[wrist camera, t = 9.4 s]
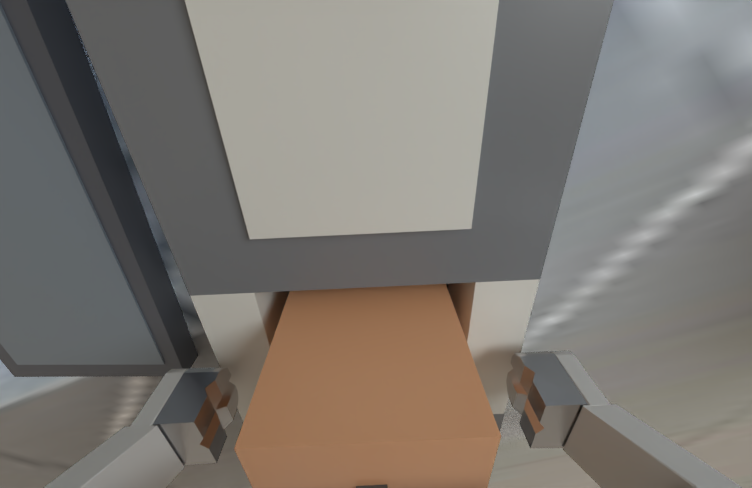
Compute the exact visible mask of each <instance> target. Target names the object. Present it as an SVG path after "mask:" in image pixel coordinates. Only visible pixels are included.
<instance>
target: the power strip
mask: <svg viewBox="0 0 752 488" xmlns="http://www.w3.org/2000/svg"><path fill="white" fill-rule="evenodd" d="M613 1H614V0H66V3H67V5H68V8H69V10H70V12H71V15H72V17H73V19H74V22H75V24H76V27H77V29H78V31H79V34H80V36H81V38H82V41H83V43H84V46H85V48H86V50H87V53H88V55H89V57H90V60H91V62H92V65H93V67H94V69H95V72H96V74H97V76H98V79H99V81H100V84H101V86H102V88H103V91H104V93H105V95H106V98H107V100H108V103H109V105H110V107H111V110H112V112H113V114H114V117H115V119H116V122H117V124H118V126H119V129H120V131H121V133H122V136H123V138H124V141H125V143H126V145H127V148H128V150H129V152H130V155H131V157H132V160H133V162H134V164H135V167H136V169H137V171H138V174H139V176H140V178H141V181H142V183H143V186H144V188H145V190H146V193H147V195H148V197H149V200H150V202H151V205H152V207H153V209H154V212H155V214H156V216H157V219H158V221H159V224H160V226H161V228H162V231H163V233H164V235H165V238H166V240H167V243H168V245H169V247H170V250H171V252H172V254H173V257H174V259H175V262H176V264H177V266H178V269H179V271H180V273H181V276H182V278H183V281H184V283H185V285H186V288H187V290H188V292H189V295H190V297H191V300H192V302H193V304H194V307H195V309H196V311H197V314H198V316H199V319H200V321H201V323H202V326H203V328H204V330H205V333H206V335H207V338H208V340H209V342H210V345H211V347H212V349H213V352H214V354H215V357H216V359H217V361H218V364H219V366H220V368H228V369H229V371H230V373H231V377H230V380H229V382H231V383H232V384H234V385H235V386H236V388H237V391H238V406H237V409H238V411H239V413H240V416H241V418H242V421H243V422H244V419H245V416H246V414H247V411H248V408H249V405H250V402H251V399H252V397H253V394H254V391H255V388H256V385H257V382H258V380H259V377H260V374H261V371H262V368H263V365H264V363H265V360H266V357H267V354H268V351H269V348H270V345H271V343H272V340H273V337H274V334H275V331H276V328H277V326H278V323H279V320H280V317H281V314H282V311H283V309H284V306H285V303H286V300H287V297H288V294H289V292H290V291H302V290H323V289H344V288H366V287H387V286H408V285H429V284H446V286H447V289H448V291H449V294H450V297H451V300H452V302H453V305H454V308H455V311H456V313H457V316H458V319H459V322H460V324H461V327H462V330H463V333H464V335H465V338H466V341H467V344H468V346H469V349H470V352H471V355H472V357H473V360H474V363H475V366H476V368H477V371H478V374H479V377H480V379H481V382H482V385H483V388H484V390H485V393H486V396H487V399H488V401H489V404H490V407H491V410H492V412H493V415H494V418H495V421H496V423H497V426H498V429H499V432H500V428H501V425H502V421H503V417H504V413H505V410H506V406H507V402H508V398H509V396H508V392H507V384H506V379H507V374H508V372H509V371H511V370H512V369H513V367H512V365H511V363H510V362H511V358H512V356H513V355H514V354H515V353H521V349H522V345H523V342H524V338H525V334H526V330H527V326H528V323H529V319H530V315H531V311H532V308H533V304H534V300H535V296H536V292H537V289H538V285H539V281H540V277H541V274H542V270H543V266H544V262H545V258H546V255H547V251H548V247H549V243H550V240H551V236H552V232H553V228H554V224H555V221H556V217H557V213H558V209H559V206H560V202H561V198H562V194H563V190H564V187H565V183H566V179H567V175H568V172H569V168H570V164H571V160H572V156H573V153H574V149H575V145H576V141H577V137H578V134H579V130H580V126H581V122H582V119H583V115H584V111H585V107H586V103H587V100H588V96H589V92H590V88H591V85H592V81H593V77H594V73H595V69H596V66H597V62H598V58H599V54H600V51H601V47H602V43H603V39H604V35H605V32H606V28H607V24H608V20H609V17H610V13H611V9H612V5H613Z"/></svg>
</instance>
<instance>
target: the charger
mask: <svg viewBox="0 0 752 488" xmlns="http://www.w3.org/2000/svg"><path fill="white" fill-rule="evenodd" d="M500 439H501V435H500V432H499V429H498V426H497V423H496V421H495V418H494V415H493V412H492V410H491V407H490V404H489V401H488V399H487V396H486V393H485V390H484V388H483V385H482V382H481V379H480V377H479V374H478V371H477V368H476V366H475V363H474V360H473V357H472V355H471V352H470V349H469V346H468V344H467V341H466V338H465V335H464V333H463V330H462V327H461V324H460V322H459V319H458V316H457V313H456V311H455V308H454V305H453V302H452V300H451V297H450V294H449V291H448V289H447V286H446V284H429V285H408V286H387V287H366V288H344V289H323V290H302V291H290V292H289V294H288V297H287V300H286V303H285V306H284V309H283V311H282V314H281V317H280V320H279V323H278V326H277V328H276V331H275V334H274V337H273V340H272V343H271V345H270V348H269V351H268V354H267V357H266V360H265V363H264V365H263V368H262V371H261V374H260V377H259V380H258V382H257V385H256V388H255V391H254V394H253V397H252V399H251V402H250V405H249V408H248V411H247V414H246V416H245V419H244V422H243V425H242V428H241V431H240V433H239V436H238V439H237V442H236V445H235V448H234V450H235V452H236V454H237V456H238V458H239V460H240V462H241V464H242V466H243V469H244V471H245V473H246V475H247V477H248V479H249V481H250V483H251V485H252V487H253V488H487V487H488V483H489V479H490V476H491V472H492V468H493V465H494V461H495V457H496V454H497V450H498V446H499V443H500Z"/></svg>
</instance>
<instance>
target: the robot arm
mask: <svg viewBox="0 0 752 488" xmlns="http://www.w3.org/2000/svg"><path fill="white" fill-rule="evenodd" d="M510 363H511V365H512V367H513V369H512V370H511V371H509V372H508V374H507V379H506V384H507V392H508V396H509V399H510V402H511V404H512V407H513V408H514V409H515V410H517V411H518V412H519V413H520V414H521V415H522V416H521V420H520V425H521V428H522V430H523V432H524V434H525V437H526V439H527V441H528V444H529V446H530V448H563V450H564V451H565V452H566V453H567V454H568V455H569V456H570V457H571V458H572V459H573V460H574V461H575V462H576V463H577V464H578V465H579V466H580V467H581V468H582V469H583V470H584V471H585V472H586V473H587V474H588V475H589V476H590V477H591V478H592V479H593V480H594V481H595V482H596V483H597V484H598V485H599V486H600V487H601V488H742V487H741V486H740V485H738V484H737V483H735V482H734V481H732V480H731V479H729V478H728V477H726V476H724V475H723V474H721V473H720V472H718V471H717V470H715V469H714V468H712V467H711V466H709V465H708V464H706V463H705V462H703V461H702V460H700V459H699V458H697V457H696V456H694V455H693V454H691V453H690V452H688V451H687V450H685V449H684V448H682V447H680V446H679V445H677V444H676V443H674V442H673V441H671V440H670V439H668V438H667V437H665V436H664V435H662V434H661V433H659V432H658V431H656V430H655V429H653V428H652V427H650V426H649V425H647V424H646V423H644V422H643V421H641V420H640V419H638V418H636V417H635V416H633V415H632V414H630V413H629V412H627V411H626V410H624V409H623V408H621V407H620V406H618V405H617V404H610V403H609V402H608V400H607V399H606V398H605V396H604V395H603V394H602V392H601V391H600V389H599V388H598V387H597V385H596V384H595V383H594V381H593V380H592V379H591V377H590V376H589V374H588V373H587V372H586V370H585V369H584V368H583V366H582V365H581V364H580V362H579V361H578V359H577V358H576V357H575V355H574V354H573V353H572V352H570V351H552V352H548V351H545V352H528V353H515V354H514V355H513V356H512V358H511V362H510ZM230 377H231V373H230V371H229V369H228V368H183V369H171V370H170V371H168V372H167V373H166V374H165V375H164V377H163V378H162V380H161V381H160V383H159V384H158V386H157V387H156V389H155V390H154V392H153V393H152V395H151V396H150V397H149V399H148V400H147V402H146V403H145V405H144V406H143V408H142V409H141V411H140V412H139V414H138V415H137V417H136V418H135V420H134V421H133V423H132V424H131V426H129V427H123V428H122V429H121V430H120V431H118V432H117V433H116V434H114V435H113V436H112V437H110V438H109V439H108V440H106V441H105V442H104V443H102V444H101V445H100V446H98V447H97V448H96V449H94V450H93V451H92V452H90V453H89V454H88V455H86V456H85V457H84V458H82V459H81V460H80V461H78V462H77V463H76V464H74V465H73V466H72V467H70V468H69V469H68V470H66V471H65V472H64V473H62V474H61V475H60V476H58V477H57V478H56V479H54V480H53V481H52V482H50V483H49V484H48V485H46V486H45V487H44V488H166V487H167V486H168V485H169V484H170V483H171V482H172V481H173V480H174V478H175V477H176V476H177V475H178V474H179V473H180V472H181V471H182V470H183V468H184V465H196V464H209V463H217V461H218V458H219V456H220V453H221V450H222V448H223V445H224V443H225V440H226V438H227V436H226V433H225V428H226V427H227V426H228V425H229V424H230V423H231V422H232V421H233V419H234V416H235V414H236V411H237V406H238V391H237V388H236V386H235V385H234V384H232V383H231V382H229V380H230Z"/></svg>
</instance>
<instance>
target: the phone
mask: <svg viewBox="0 0 752 488" xmlns="http://www.w3.org/2000/svg"><path fill="white" fill-rule="evenodd" d="M197 356H198V354H197V351H196V349H195V346H194V343H193V341H192V338H191V335H190V333H189V330H188V327H187V325H186V322H185V319H184V317H183V314H182V311H181V309H180V306H179V303H178V301H177V298H176V295H175V293H174V290H173V287H172V285H171V282H170V279H169V277H168V274H167V271H166V269H165V266H164V263H163V261H162V258H161V255H160V253H159V250H158V247H157V245H156V242H155V239H154V236H153V234H152V231H151V228H150V226H149V223H148V220H147V218H146V215H145V212H144V210H143V207H142V204H141V202H140V199H139V196H138V194H137V191H136V188H135V186H134V183H133V180H132V178H131V175H130V172H129V170H128V167H127V164H126V162H125V159H124V156H123V154H122V151H121V148H120V146H119V143H118V140H117V138H116V135H115V132H114V130H113V127H112V124H111V122H110V119H109V116H108V114H107V111H106V108H105V106H104V103H103V100H102V98H101V95H100V92H99V90H98V87H97V84H96V82H95V79H94V76H93V74H92V71H91V68H90V65H89V63H88V60H87V57H86V55H85V52H84V49H83V47H82V44H81V41H80V39H79V36H78V33H77V31H76V28H75V25H74V23H73V20H72V17H71V15H70V12H69V9H68V7H67V4H66V1H65V0H0V359H1V361H2V362H3V363H4V364H5V366H6V367H7V368H8V369H9V370H10V372H11V373H12V374H13V375H14V376H15V377H39V376H164V375H165V374H166V373H167V372H168V371H170V370H171V369H183V368H191V366H192V364H193V363H194V361H195V359H196V358H197Z"/></svg>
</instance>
